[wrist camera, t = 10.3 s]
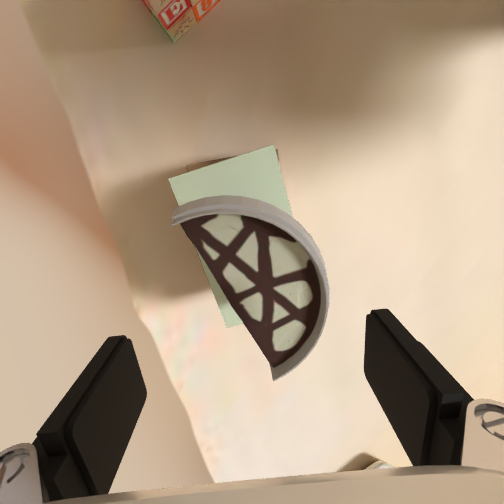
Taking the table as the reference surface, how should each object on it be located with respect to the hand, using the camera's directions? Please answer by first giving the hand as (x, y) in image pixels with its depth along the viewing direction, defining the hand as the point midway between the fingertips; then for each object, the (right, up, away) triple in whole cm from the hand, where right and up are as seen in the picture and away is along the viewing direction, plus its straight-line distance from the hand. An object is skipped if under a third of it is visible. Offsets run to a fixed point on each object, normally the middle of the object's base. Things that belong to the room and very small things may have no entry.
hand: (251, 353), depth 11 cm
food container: (+1, +5, +14) cm, 15 cm away
